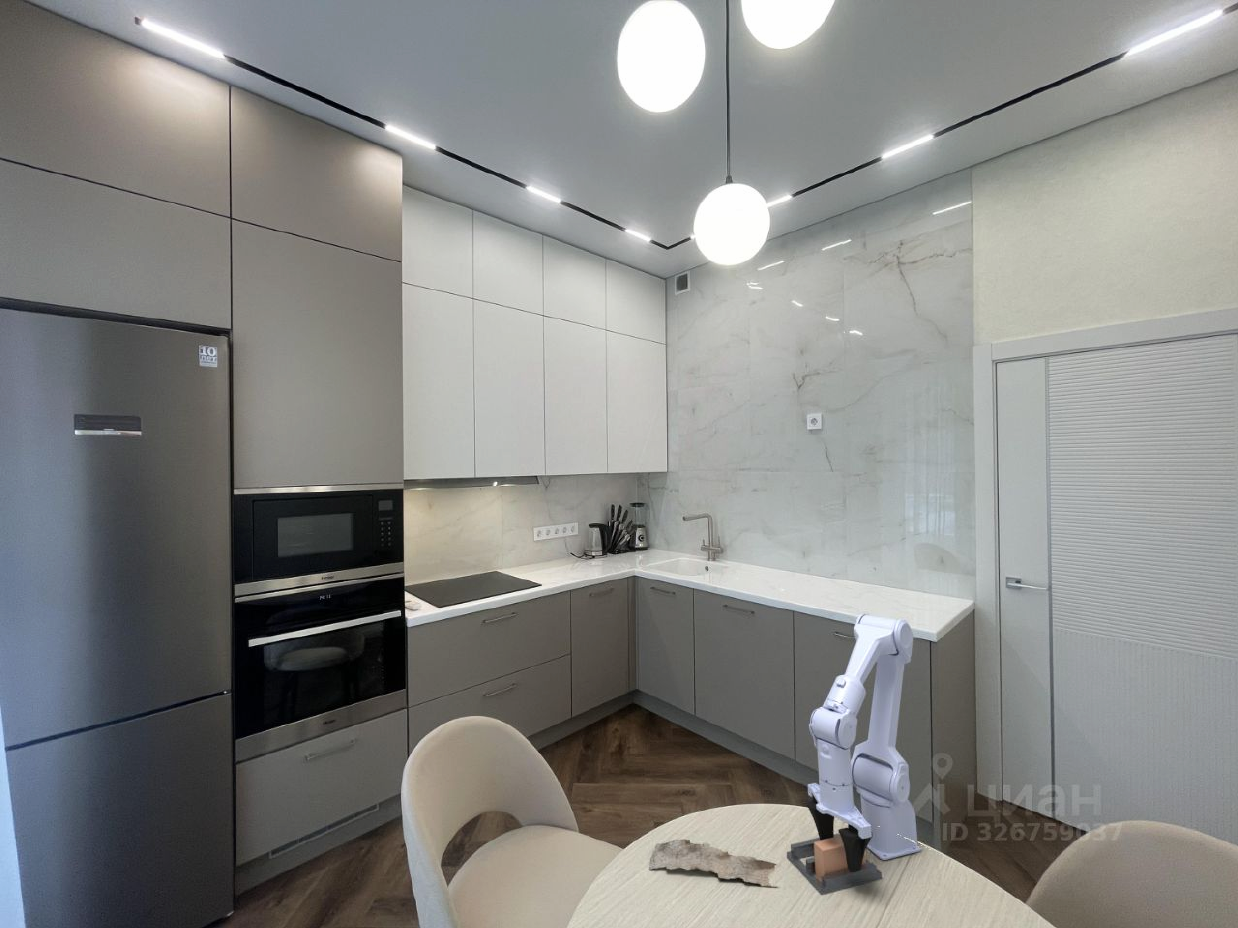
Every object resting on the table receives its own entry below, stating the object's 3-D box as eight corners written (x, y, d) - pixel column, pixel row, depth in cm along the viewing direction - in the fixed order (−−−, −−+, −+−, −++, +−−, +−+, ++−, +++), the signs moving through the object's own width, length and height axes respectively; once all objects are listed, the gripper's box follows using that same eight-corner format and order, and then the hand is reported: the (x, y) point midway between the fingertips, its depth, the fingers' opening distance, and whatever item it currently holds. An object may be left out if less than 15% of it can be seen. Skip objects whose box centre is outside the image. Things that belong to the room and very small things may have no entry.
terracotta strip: (856, 866, 93) (854, 832, 93) (866, 876, 90) (864, 840, 91) (815, 877, 90) (813, 841, 91) (825, 887, 88) (823, 850, 88)
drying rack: (843, 844, 99) (842, 832, 99) (882, 878, 89) (881, 865, 90) (787, 857, 95) (786, 845, 96) (821, 894, 86) (820, 880, 86)
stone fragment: (649, 852, 99) (648, 888, 89) (648, 836, 99) (647, 871, 90) (777, 854, 97) (791, 891, 87) (776, 838, 98) (789, 874, 88)
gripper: (793, 763, 98) (797, 836, 96) (845, 802, 84) (850, 889, 83) (823, 757, 100) (827, 830, 98) (879, 795, 86) (885, 880, 84)
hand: (840, 856), depth 91 cm, fingers open, 7 cm apart
